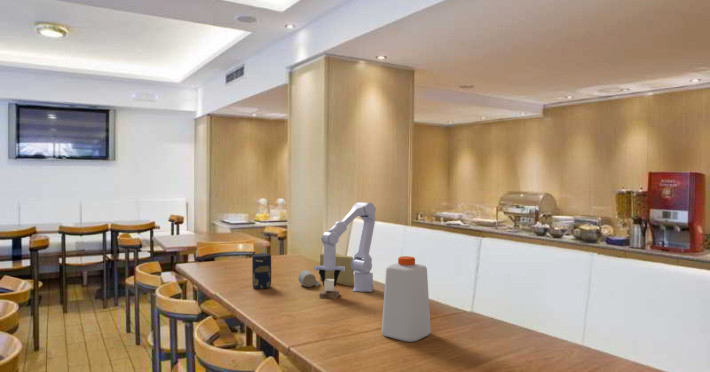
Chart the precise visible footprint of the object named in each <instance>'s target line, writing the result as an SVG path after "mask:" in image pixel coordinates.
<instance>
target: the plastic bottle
mask: <svg viewBox="0 0 710 372" xmlns="http://www.w3.org/2000/svg"><path fill="white" fill-rule="evenodd" d="M384 280H385V281H384V282H385V283H384V294H383V307H382V317H381V318H382V319H381V321H382V322H381V334H382V335H383V336H385V337H387V338H391V339H394V340H399V341H401V342H407V343H412V342H417V341H419V340H421V339H423V338H426V337H428V336H429V335H430V334H431V331H432V330H431V314H430V312H431V311H430V299H429V298H430V297H429V295H430V294H429V280H428V268H427V267H426V266H425V265H423V264H419V263H416V258H415V257H414V256H405V255H404V256H403V255H402V256H399V257H398V258H397V263H392V264H389V265H387V267H386V268H385V279H384Z"/></svg>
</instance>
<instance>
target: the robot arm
mask: <svg viewBox="0 0 710 372" xmlns="http://www.w3.org/2000/svg"><path fill="white" fill-rule="evenodd" d="M351 207H352V208H351V209H350V211H349V212H348V213H347V214H346V215H345V216H344V218H343V219H342V220H337V221H336V222H335V223H334V225H333V226H332V227H331V228H329V229H328V231H325V232H323V234H322V236H321V238H320V240H321V243H322V246H323V253H324V266H320V265H315V266H314V267H313V268H314V269H313V270H314V271H315V272H316V271H318V275H319V277H320V276H321V279H322V280H321V281H322V285H323V287H324V281H325V272H326V271H334V286H335V287H336V286H337V283H336V282H337V278H338V276H339V273H340V271H345V267H342V266H336V251H337V249H336V248H337V244H338V242H339V239H340V238H341V237H342V235H343V234H344V233H346V231H347V229H348V225H350V223H352V222H353V221H354V220H355V219H357V218H358V217H360V218H361V219H362V221H363V226H362V230H361V235H360V242H359V246H358V250H357V252H356V253H355V254H354V255H353V256H354V257H353V260H352V263H351V266H352V268H353V269H354V285H353V289H352V292H368V293H370V292H371V293H372V292H373V289H374V273H373V272H371V271H372V267H373V263H372V261H373V259H372V256H371V255H370V251H371V246H372V245H371V244H372V240H373V235H374V229H375V224H376V223H375V222H376V210H377V208H376V206H375V205H374V204H373V202H365V201H364V202H363V201H357V202H356V203H354V204H353V205H352V206H351ZM333 269H334V270H333Z"/></svg>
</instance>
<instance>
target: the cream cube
mask: <svg viewBox="0 0 710 372" xmlns="http://www.w3.org/2000/svg"><path fill="white" fill-rule="evenodd" d="M323 288H324V289H323V290H329V291H334V290H336V286H334V279H325V281H324V286H323Z"/></svg>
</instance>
